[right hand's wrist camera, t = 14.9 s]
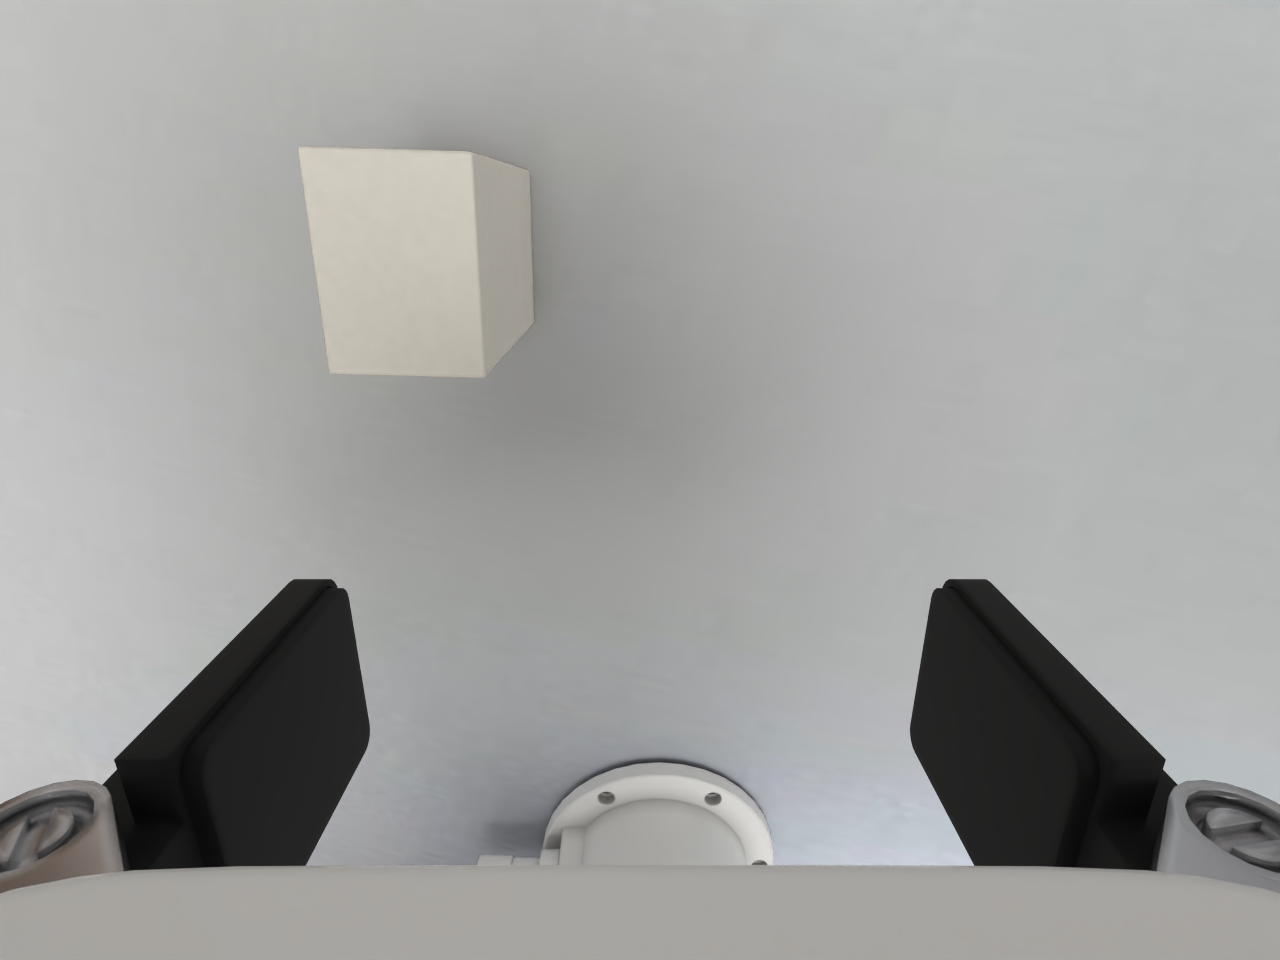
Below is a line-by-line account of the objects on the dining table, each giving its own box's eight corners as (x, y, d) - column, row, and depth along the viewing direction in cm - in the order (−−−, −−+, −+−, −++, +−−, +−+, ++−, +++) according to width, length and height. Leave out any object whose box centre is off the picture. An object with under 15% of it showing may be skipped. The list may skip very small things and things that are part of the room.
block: (530, 170, 26) (472, 150, 17) (534, 323, 28) (484, 379, 19) (414, 166, 26) (296, 145, 17) (428, 320, 28) (328, 374, 19)
